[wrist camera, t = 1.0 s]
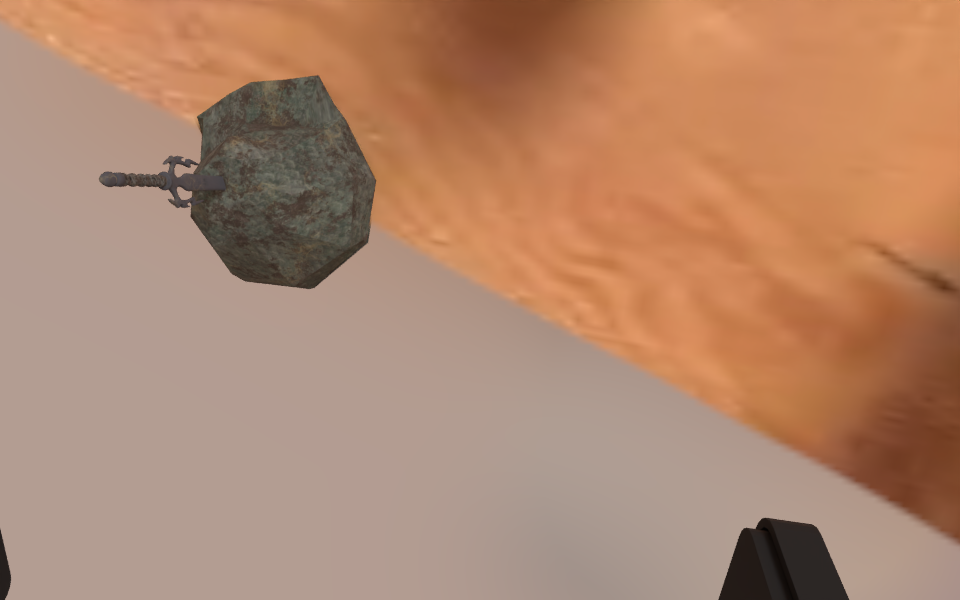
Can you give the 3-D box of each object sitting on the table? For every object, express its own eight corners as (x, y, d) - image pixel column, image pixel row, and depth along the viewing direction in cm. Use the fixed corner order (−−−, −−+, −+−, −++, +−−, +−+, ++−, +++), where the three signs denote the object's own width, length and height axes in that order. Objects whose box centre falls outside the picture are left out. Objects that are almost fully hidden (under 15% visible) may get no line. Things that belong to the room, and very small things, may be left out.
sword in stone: (397, 279, 36) (316, 428, 25) (241, 291, 37) (101, 438, 26) (353, 59, 32) (233, 124, 21) (179, 82, 33) (-18, 154, 22)
